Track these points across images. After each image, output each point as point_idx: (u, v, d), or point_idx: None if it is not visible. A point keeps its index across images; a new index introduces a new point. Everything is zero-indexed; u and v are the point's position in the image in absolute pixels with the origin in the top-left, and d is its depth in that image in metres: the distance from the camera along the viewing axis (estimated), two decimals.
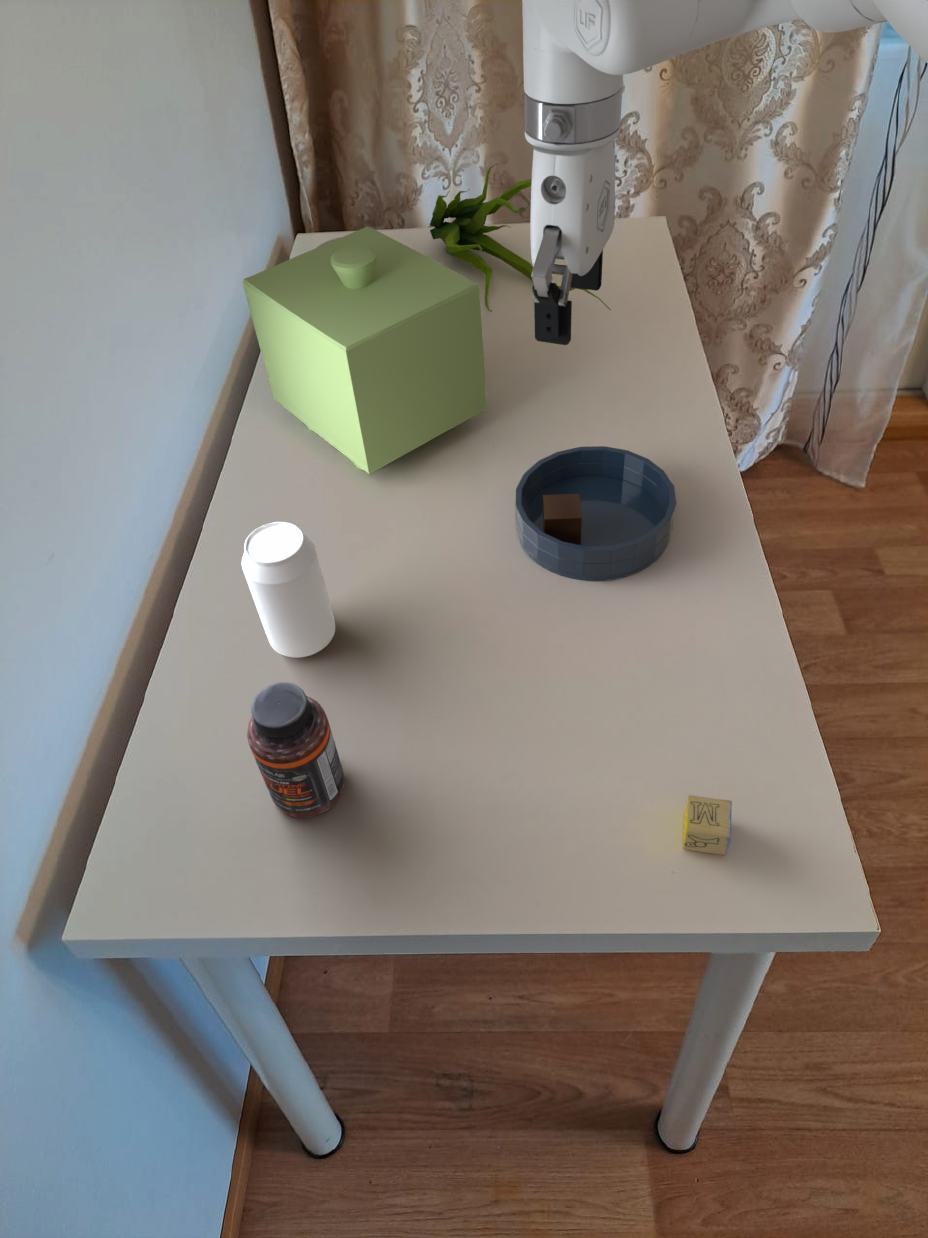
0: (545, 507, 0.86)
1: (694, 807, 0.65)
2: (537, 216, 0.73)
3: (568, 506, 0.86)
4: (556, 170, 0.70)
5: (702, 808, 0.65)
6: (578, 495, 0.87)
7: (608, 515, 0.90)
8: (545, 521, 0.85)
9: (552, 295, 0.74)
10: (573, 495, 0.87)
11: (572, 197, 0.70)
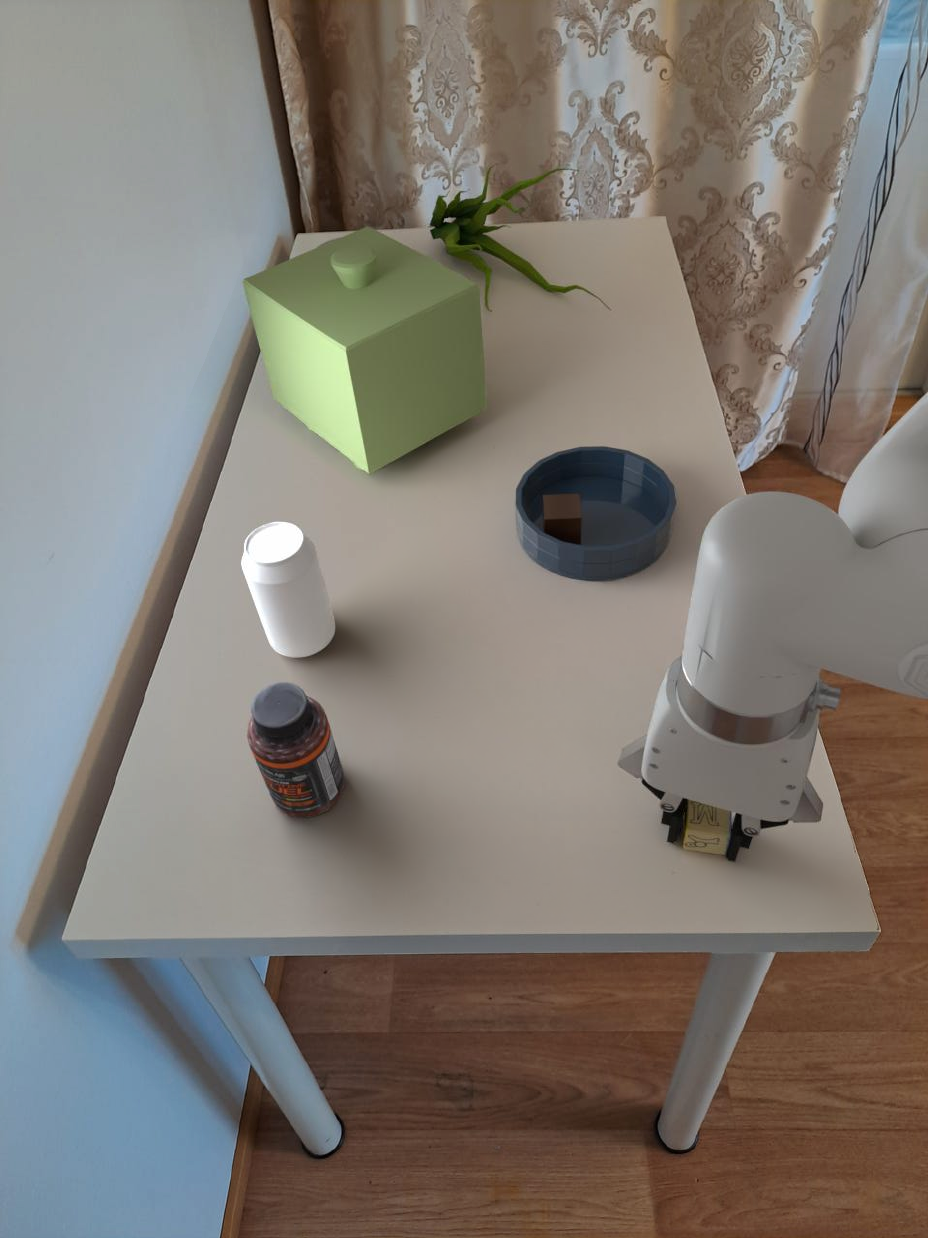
0: (545, 507, 0.86)
1: (694, 807, 0.65)
2: (805, 778, 0.55)
3: (568, 506, 0.86)
4: (817, 725, 0.54)
5: (702, 808, 0.65)
6: (578, 495, 0.87)
7: (608, 515, 0.90)
8: (545, 521, 0.85)
9: None
10: (573, 495, 0.87)
11: None
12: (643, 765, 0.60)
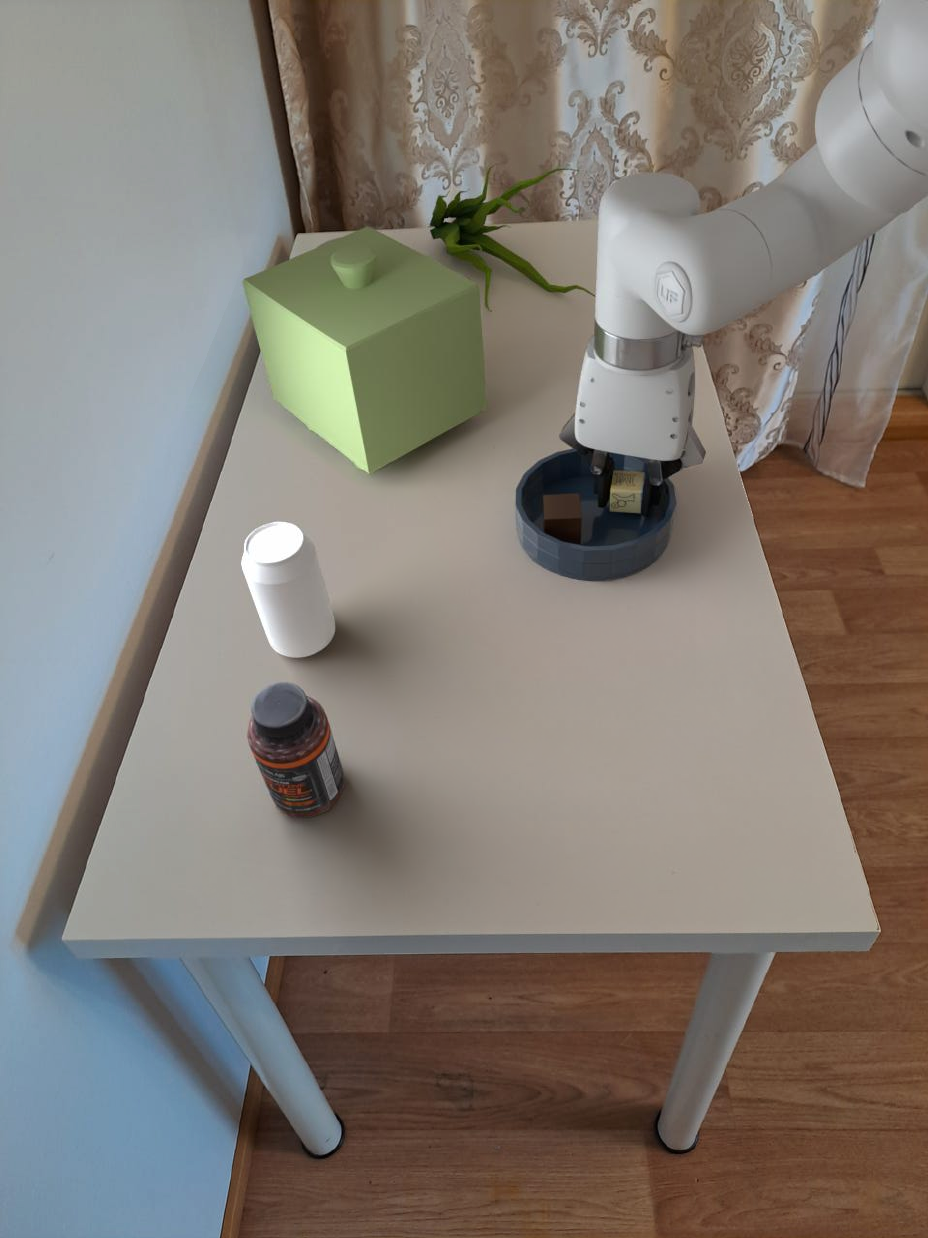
0: (545, 507, 0.86)
1: (617, 476, 0.88)
2: (686, 414, 0.78)
3: (568, 506, 0.86)
4: (692, 368, 0.76)
5: (623, 476, 0.87)
6: (578, 495, 0.87)
7: (608, 515, 0.90)
8: (545, 521, 0.85)
9: None
10: (573, 495, 0.87)
11: None
12: (575, 424, 0.82)
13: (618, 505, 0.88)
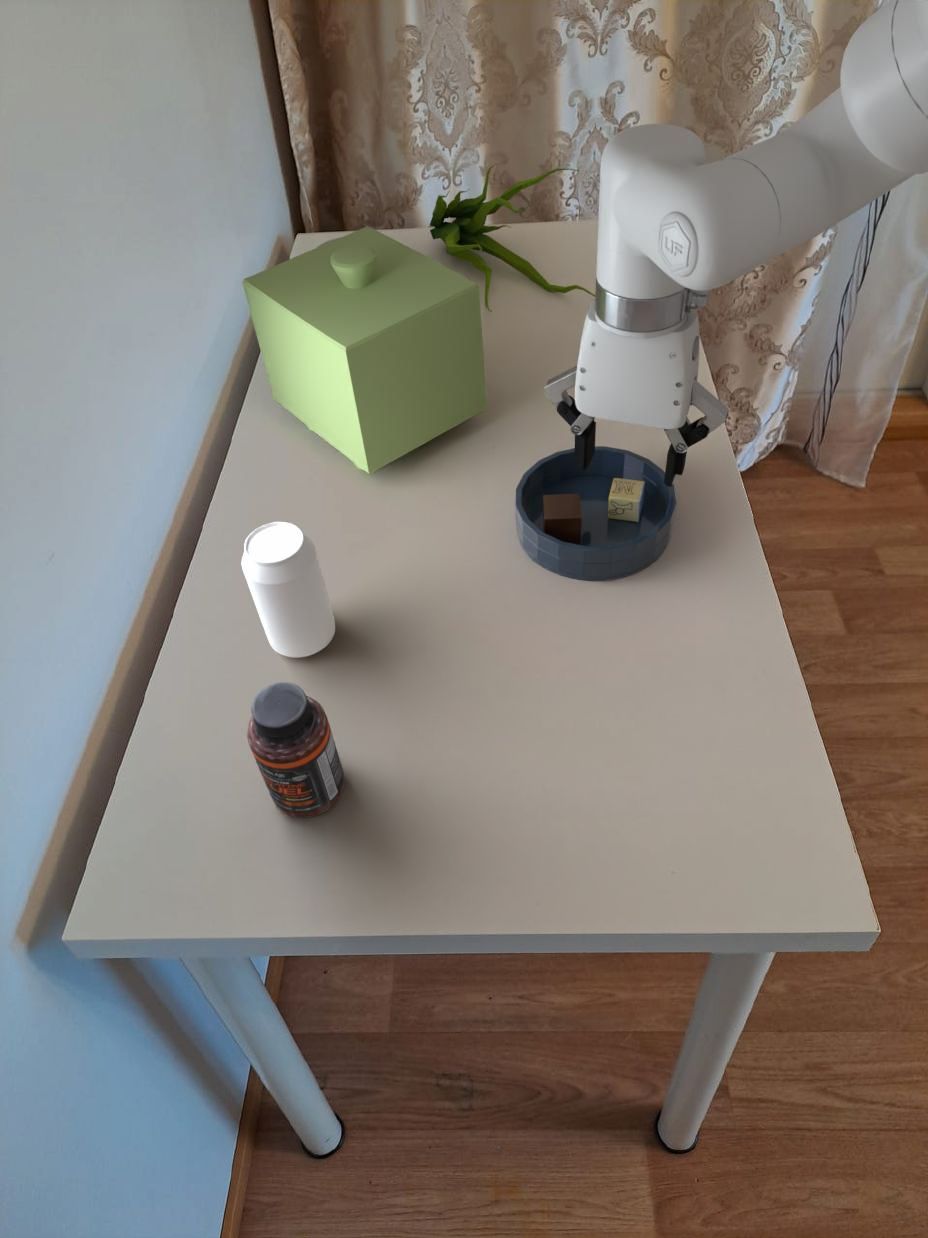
0: (545, 507, 0.86)
1: (617, 484, 0.88)
2: (690, 379, 0.75)
3: (568, 506, 0.86)
4: (696, 331, 0.74)
5: (622, 484, 0.88)
6: (578, 495, 0.87)
7: None
8: (545, 521, 0.85)
9: None
10: (573, 495, 0.87)
11: None
12: (575, 392, 0.80)
13: (616, 512, 0.88)
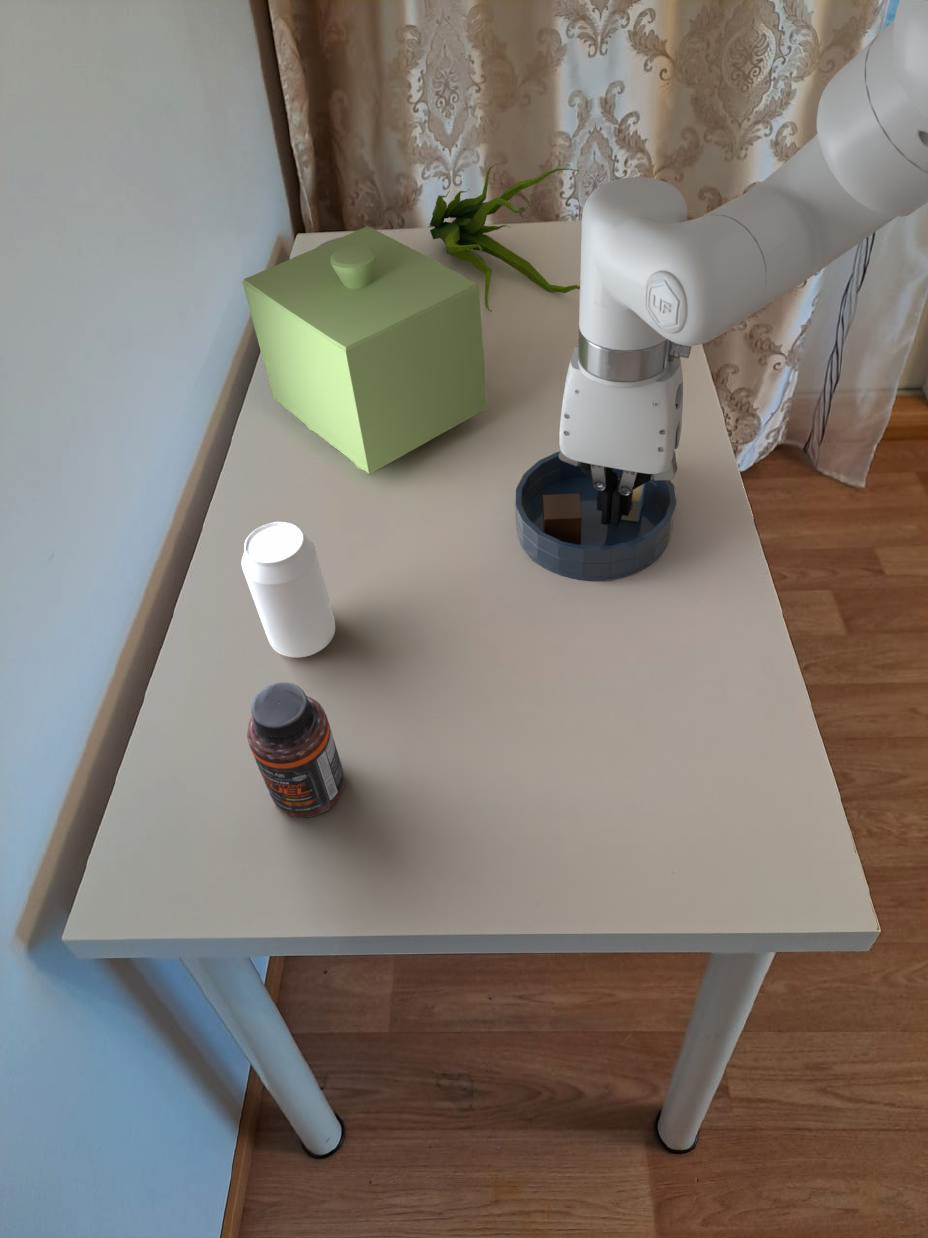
0: (545, 507, 0.86)
1: None
2: (674, 426, 0.75)
3: (568, 506, 0.86)
4: (679, 379, 0.74)
5: None
6: (578, 495, 0.87)
7: None
8: (545, 521, 0.85)
9: None
10: (573, 495, 0.87)
11: None
12: (560, 436, 0.80)
13: None
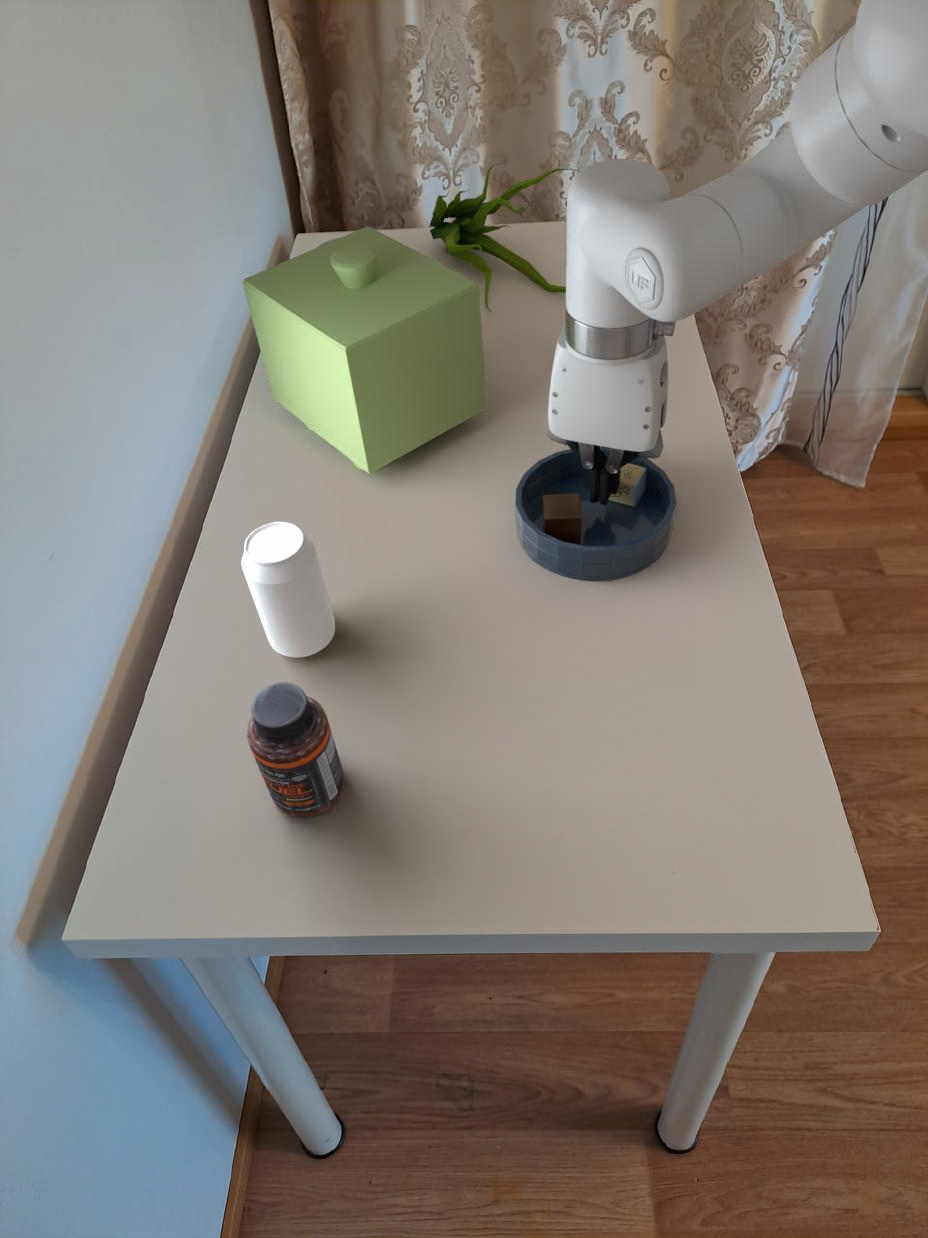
0: (545, 507, 0.86)
1: None
2: (659, 404, 0.77)
3: (568, 506, 0.86)
4: (664, 358, 0.76)
5: (624, 468, 0.90)
6: (578, 495, 0.87)
7: (608, 515, 0.90)
8: (545, 521, 0.85)
9: None
10: (573, 495, 0.87)
11: None
12: (548, 415, 0.82)
13: (614, 494, 0.90)
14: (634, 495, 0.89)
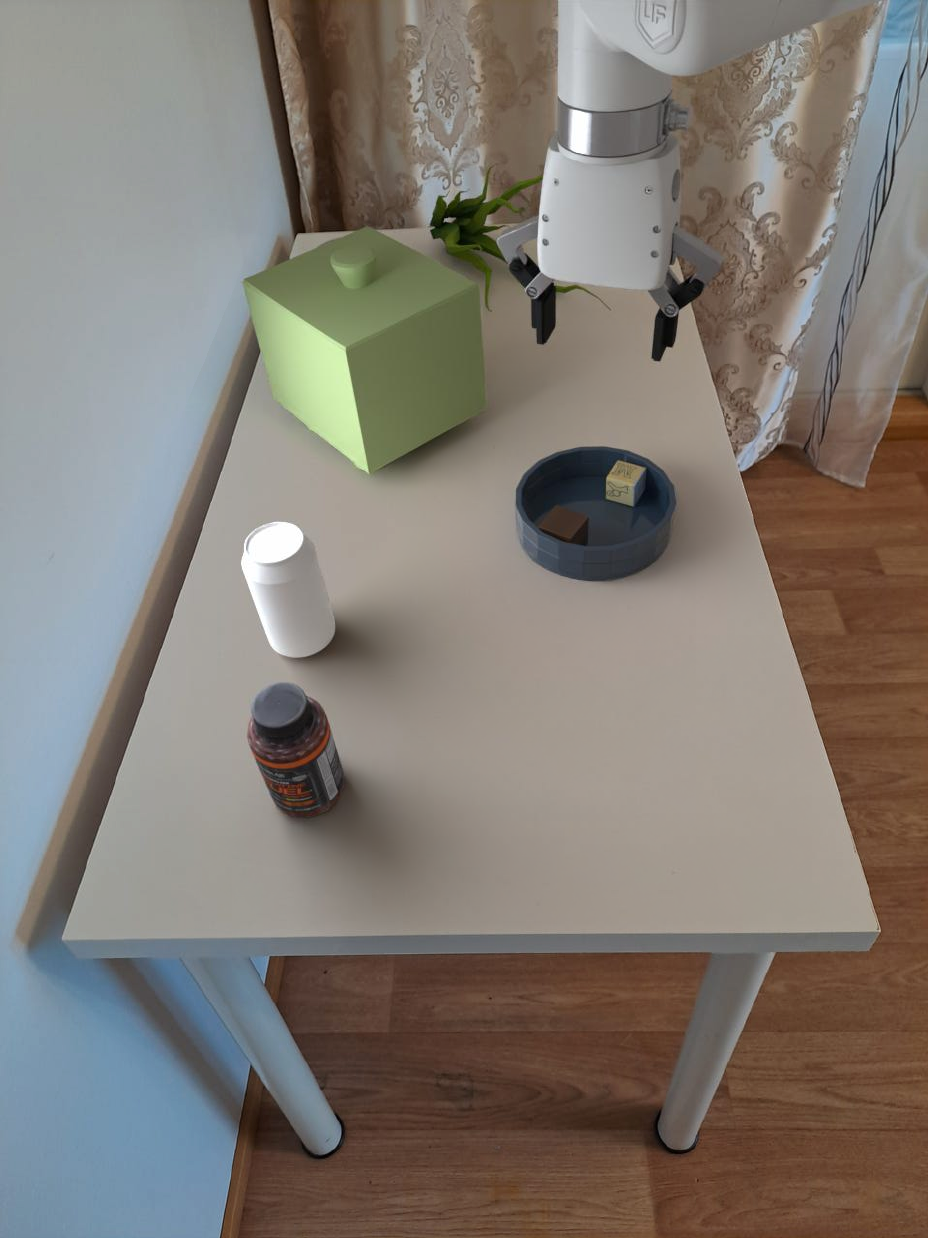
0: (548, 516, 0.85)
1: (618, 466, 0.90)
2: (670, 224, 0.64)
3: (568, 524, 0.84)
4: (676, 163, 0.63)
5: (624, 467, 0.90)
6: (586, 518, 0.85)
7: (608, 515, 0.90)
8: None
9: None
10: (581, 516, 0.85)
11: None
12: (538, 248, 0.69)
13: (613, 494, 0.90)
14: (633, 495, 0.89)
